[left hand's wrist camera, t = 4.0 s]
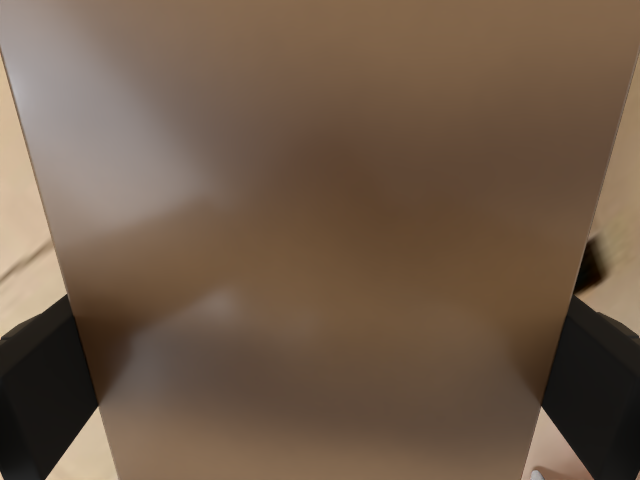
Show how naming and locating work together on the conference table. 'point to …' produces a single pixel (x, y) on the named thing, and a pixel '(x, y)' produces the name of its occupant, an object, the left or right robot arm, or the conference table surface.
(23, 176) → the conference table surface
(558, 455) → the conference table surface
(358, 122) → the cabinet
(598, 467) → the left robot arm
